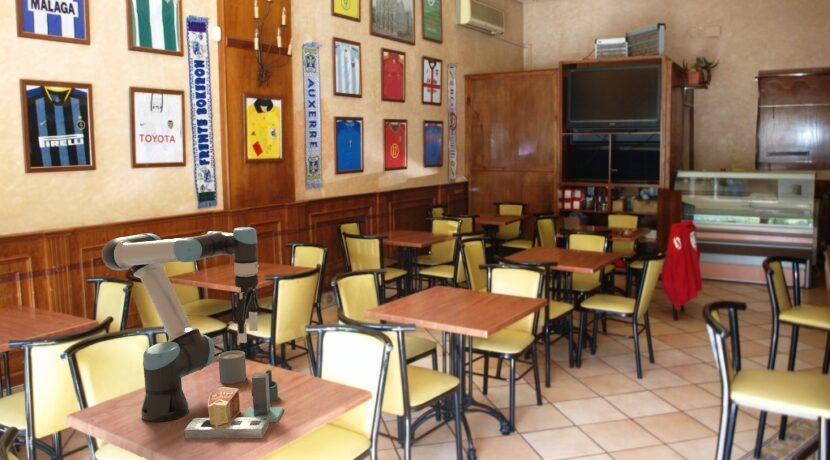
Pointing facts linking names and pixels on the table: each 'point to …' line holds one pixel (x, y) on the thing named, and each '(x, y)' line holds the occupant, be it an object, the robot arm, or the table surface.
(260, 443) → the table surface
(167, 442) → the table surface
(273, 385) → the bracket
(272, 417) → the teal pad
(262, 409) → the grey rectangular block
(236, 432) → the rail
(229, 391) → the milk carton
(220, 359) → the coffee mug
